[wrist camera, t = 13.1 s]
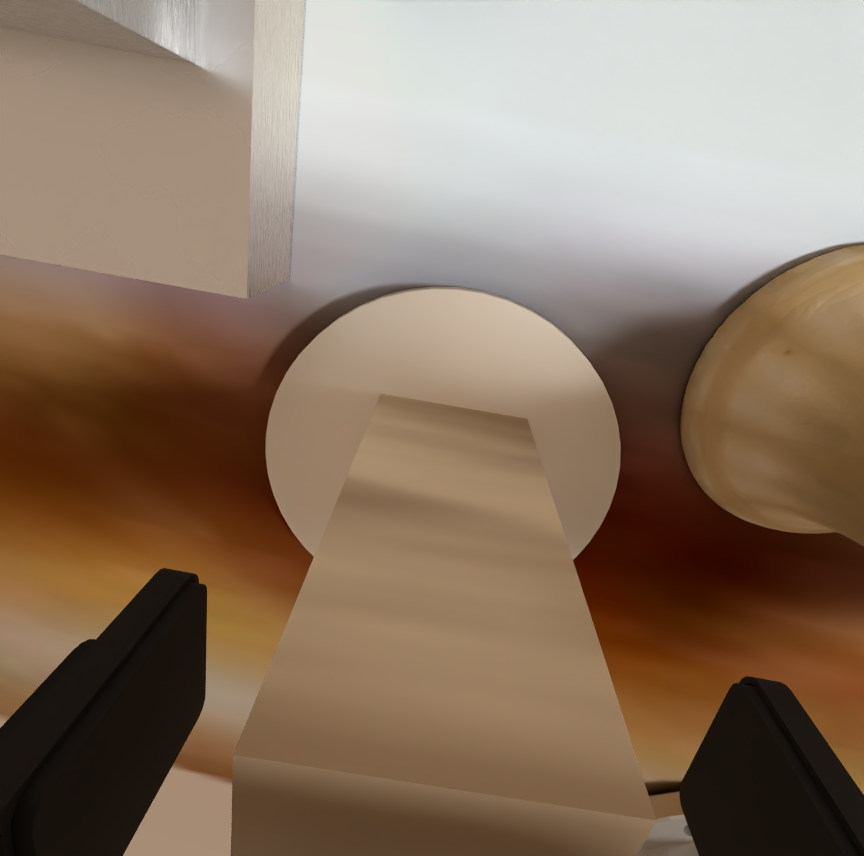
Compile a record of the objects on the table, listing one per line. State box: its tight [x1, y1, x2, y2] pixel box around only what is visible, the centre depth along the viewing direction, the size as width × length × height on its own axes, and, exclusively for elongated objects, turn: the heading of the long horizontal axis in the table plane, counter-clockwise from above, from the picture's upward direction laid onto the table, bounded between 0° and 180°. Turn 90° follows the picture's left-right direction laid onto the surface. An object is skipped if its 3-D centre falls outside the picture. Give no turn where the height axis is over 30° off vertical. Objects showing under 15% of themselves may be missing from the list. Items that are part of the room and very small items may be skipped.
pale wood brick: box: [231, 394, 657, 856], centre depth 10 cm, size 4×4×10 cm
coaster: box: [266, 286, 621, 560], centre depth 15 cm, size 10×10×1 cm
